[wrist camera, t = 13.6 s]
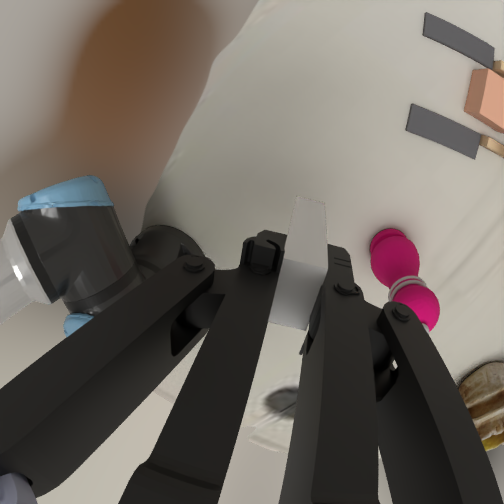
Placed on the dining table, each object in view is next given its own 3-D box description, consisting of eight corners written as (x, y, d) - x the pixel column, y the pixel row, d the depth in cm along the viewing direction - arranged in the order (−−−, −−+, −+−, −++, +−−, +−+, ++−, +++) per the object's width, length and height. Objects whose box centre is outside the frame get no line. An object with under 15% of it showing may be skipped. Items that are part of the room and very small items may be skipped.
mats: (405, 130, 34) (406, 130, 33) (425, 13, 24) (426, 12, 24) (473, 158, 32) (474, 159, 32) (492, 48, 23) (494, 47, 23)
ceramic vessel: (443, 448, 55) (448, 498, 33) (431, 376, 62) (438, 410, 40) (513, 419, 45) (539, 457, 24) (504, 344, 52) (538, 363, 31)
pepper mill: (357, 247, 43) (375, 340, 26) (391, 215, 40) (434, 296, 23) (385, 275, 44) (411, 370, 27) (419, 246, 41) (464, 334, 24)
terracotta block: (463, 111, 30) (479, 113, 26) (472, 70, 26) (488, 68, 22) (496, 131, 29) (514, 136, 25) (505, 92, 26) (523, 93, 22)
